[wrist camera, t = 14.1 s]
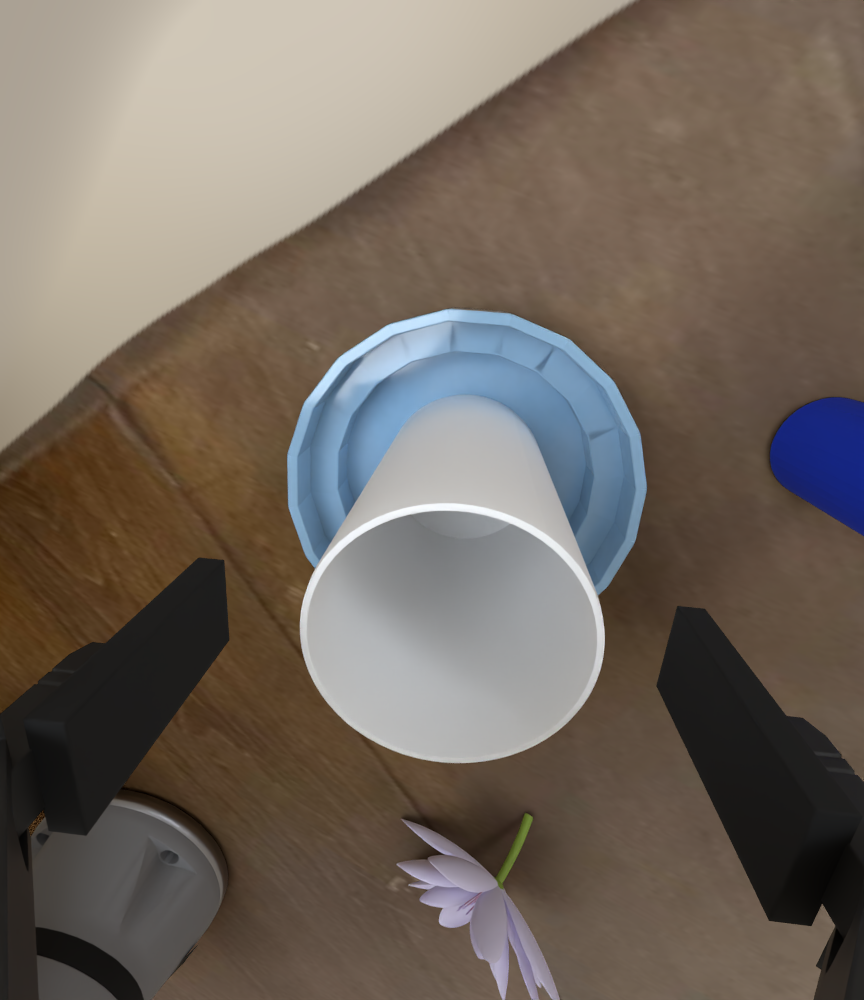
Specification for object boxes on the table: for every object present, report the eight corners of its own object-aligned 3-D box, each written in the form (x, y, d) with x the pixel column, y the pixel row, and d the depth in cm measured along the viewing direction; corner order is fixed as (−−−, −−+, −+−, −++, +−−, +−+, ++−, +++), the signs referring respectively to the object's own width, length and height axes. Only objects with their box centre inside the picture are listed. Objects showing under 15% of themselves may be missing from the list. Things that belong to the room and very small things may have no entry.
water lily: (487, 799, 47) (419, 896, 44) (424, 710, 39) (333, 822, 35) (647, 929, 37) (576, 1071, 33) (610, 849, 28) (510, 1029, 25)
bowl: (316, 583, 33) (290, 630, 29) (316, 296, 28) (283, 295, 23) (589, 613, 33) (607, 665, 28) (648, 322, 27) (683, 327, 22)
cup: (361, 484, 30) (245, 665, 15) (447, 362, 28) (409, 434, 13) (479, 565, 31) (479, 808, 16) (573, 455, 29) (675, 624, 14)
